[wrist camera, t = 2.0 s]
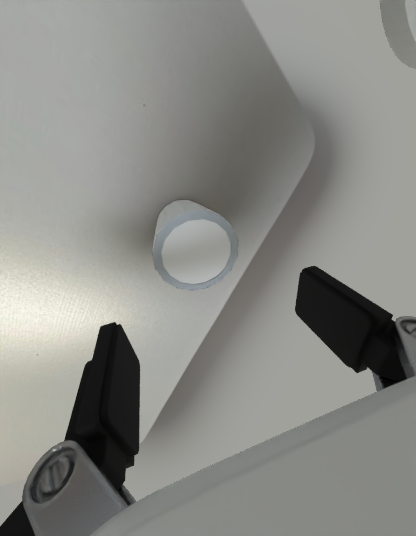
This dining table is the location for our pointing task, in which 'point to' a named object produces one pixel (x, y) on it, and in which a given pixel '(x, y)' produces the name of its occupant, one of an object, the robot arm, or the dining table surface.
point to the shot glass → (193, 246)
